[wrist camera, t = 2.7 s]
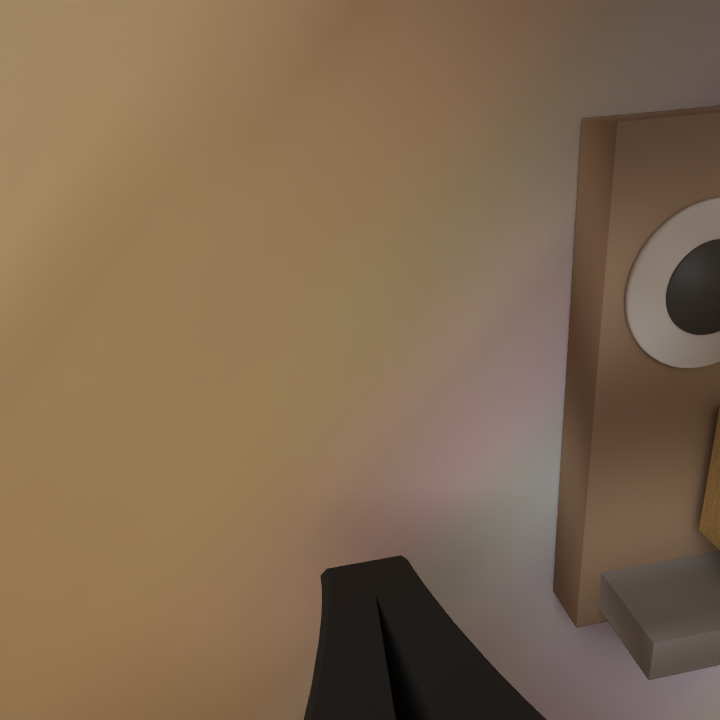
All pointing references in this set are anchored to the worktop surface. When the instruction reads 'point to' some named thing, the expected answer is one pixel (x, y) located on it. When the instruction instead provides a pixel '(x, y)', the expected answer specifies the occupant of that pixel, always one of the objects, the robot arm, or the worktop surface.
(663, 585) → the hole plate
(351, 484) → the worktop surface
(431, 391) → the worktop surface
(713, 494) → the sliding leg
